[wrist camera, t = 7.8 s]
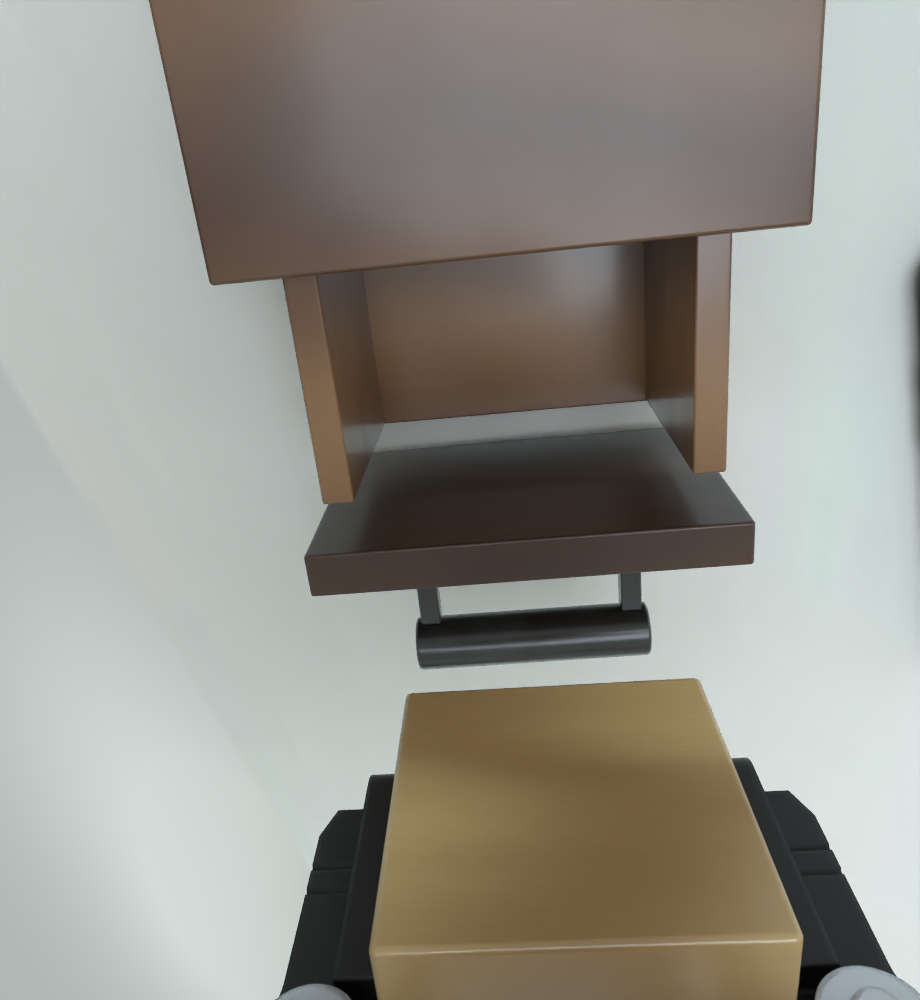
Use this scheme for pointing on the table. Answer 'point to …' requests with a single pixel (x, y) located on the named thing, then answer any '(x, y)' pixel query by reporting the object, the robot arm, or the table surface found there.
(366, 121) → the cabinet
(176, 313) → the table surface
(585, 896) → the maple cube
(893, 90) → the table surface
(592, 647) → the drawer
